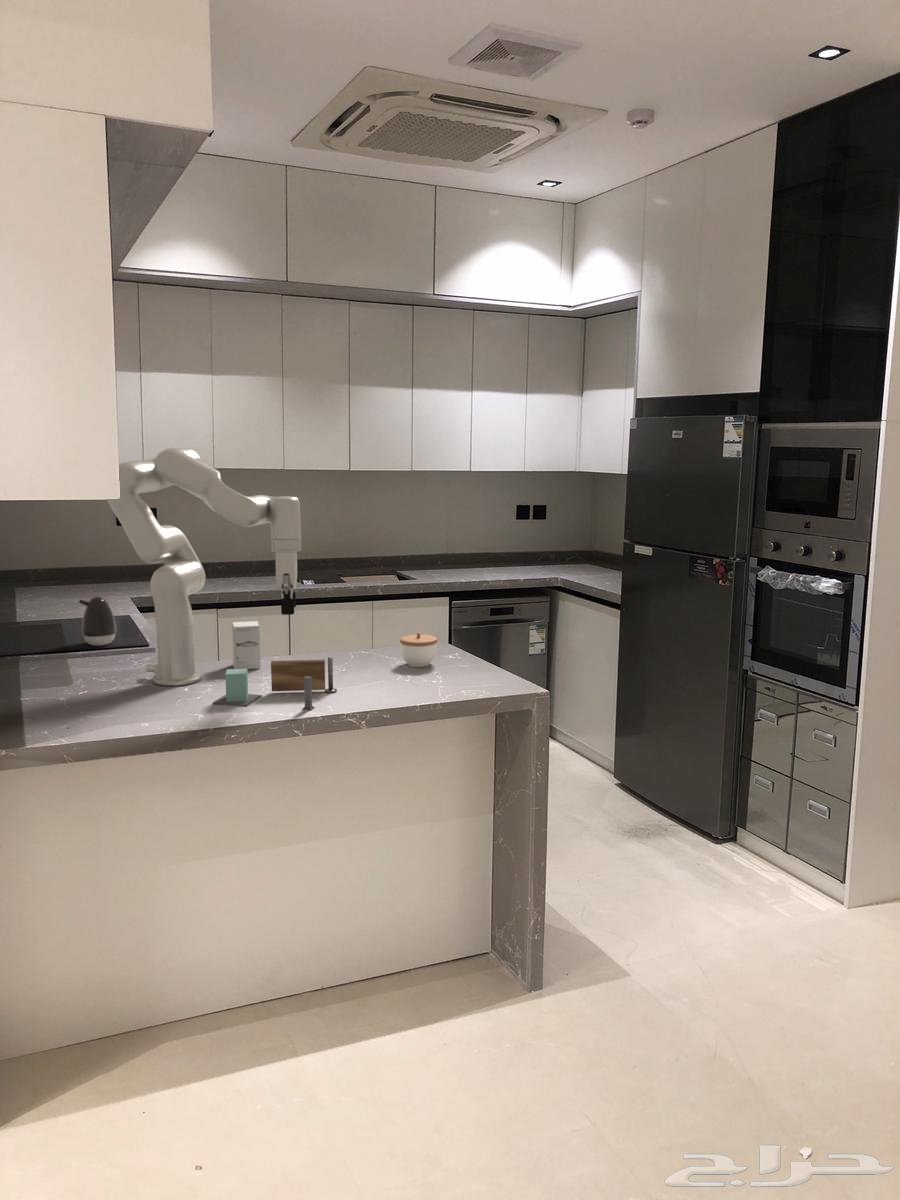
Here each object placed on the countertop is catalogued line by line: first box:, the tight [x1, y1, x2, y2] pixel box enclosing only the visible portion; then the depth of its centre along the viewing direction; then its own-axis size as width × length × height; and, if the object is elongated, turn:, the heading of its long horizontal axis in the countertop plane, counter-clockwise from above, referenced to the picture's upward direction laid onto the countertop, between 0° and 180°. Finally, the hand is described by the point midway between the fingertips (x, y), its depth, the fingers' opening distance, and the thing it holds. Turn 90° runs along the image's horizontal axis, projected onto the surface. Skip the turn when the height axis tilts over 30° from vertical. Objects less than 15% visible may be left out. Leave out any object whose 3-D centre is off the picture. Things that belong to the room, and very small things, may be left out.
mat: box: [212, 693, 263, 707], centre depth 239 cm, size 9×9×1 cm
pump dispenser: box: [79, 596, 117, 647], centre depth 299 cm, size 10×10×15 cm
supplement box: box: [231, 620, 261, 670], centre depth 271 cm, size 7×7×13 cm
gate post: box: [324, 656, 338, 694], centre depth 246 cm, size 3×3×9 cm
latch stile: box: [302, 676, 315, 711], centre depth 231 cm, size 2×2×8 cm
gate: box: [270, 659, 326, 692], centre depth 245 cm, size 2×14×8 cm, turn 97°
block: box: [224, 668, 249, 702], centre depth 238 cm, size 5×5×7 cm
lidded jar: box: [399, 632, 438, 668], centre depth 275 cm, size 11×11×9 cm
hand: (288, 610), depth 247 cm, fingers open, 9 cm apart
